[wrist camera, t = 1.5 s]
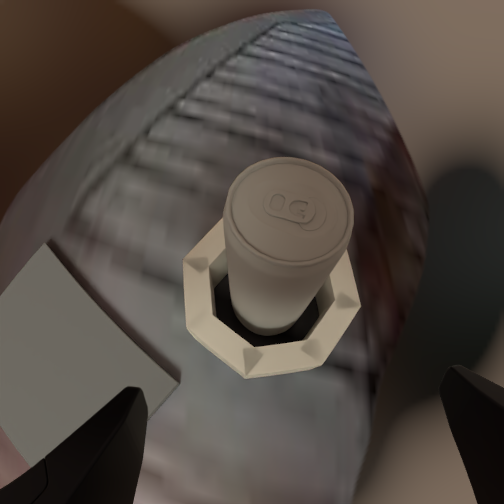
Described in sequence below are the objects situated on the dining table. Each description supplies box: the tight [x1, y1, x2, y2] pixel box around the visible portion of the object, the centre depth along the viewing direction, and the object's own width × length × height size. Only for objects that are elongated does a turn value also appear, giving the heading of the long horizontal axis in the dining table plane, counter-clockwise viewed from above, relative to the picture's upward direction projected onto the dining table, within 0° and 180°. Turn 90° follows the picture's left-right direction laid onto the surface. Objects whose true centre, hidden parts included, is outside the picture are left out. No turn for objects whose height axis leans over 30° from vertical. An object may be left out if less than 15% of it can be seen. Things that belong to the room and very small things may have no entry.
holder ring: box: [183, 218, 361, 379], centre depth 20 cm, size 10×10×4 cm
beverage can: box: [223, 157, 354, 336], centre depth 16 cm, size 5×5×12 cm
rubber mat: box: [0, 243, 180, 467], centre depth 18 cm, size 16×14×1 cm
